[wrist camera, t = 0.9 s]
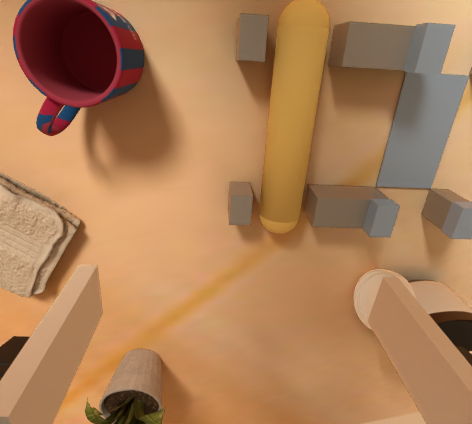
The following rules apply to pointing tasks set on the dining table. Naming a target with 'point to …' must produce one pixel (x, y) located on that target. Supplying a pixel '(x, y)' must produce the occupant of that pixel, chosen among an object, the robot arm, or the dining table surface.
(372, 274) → the spread jar
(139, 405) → the house plant
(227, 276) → the dining table surface
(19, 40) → the mug
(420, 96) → the grey block frame
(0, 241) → the washcloth
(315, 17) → the yellow round-top post
